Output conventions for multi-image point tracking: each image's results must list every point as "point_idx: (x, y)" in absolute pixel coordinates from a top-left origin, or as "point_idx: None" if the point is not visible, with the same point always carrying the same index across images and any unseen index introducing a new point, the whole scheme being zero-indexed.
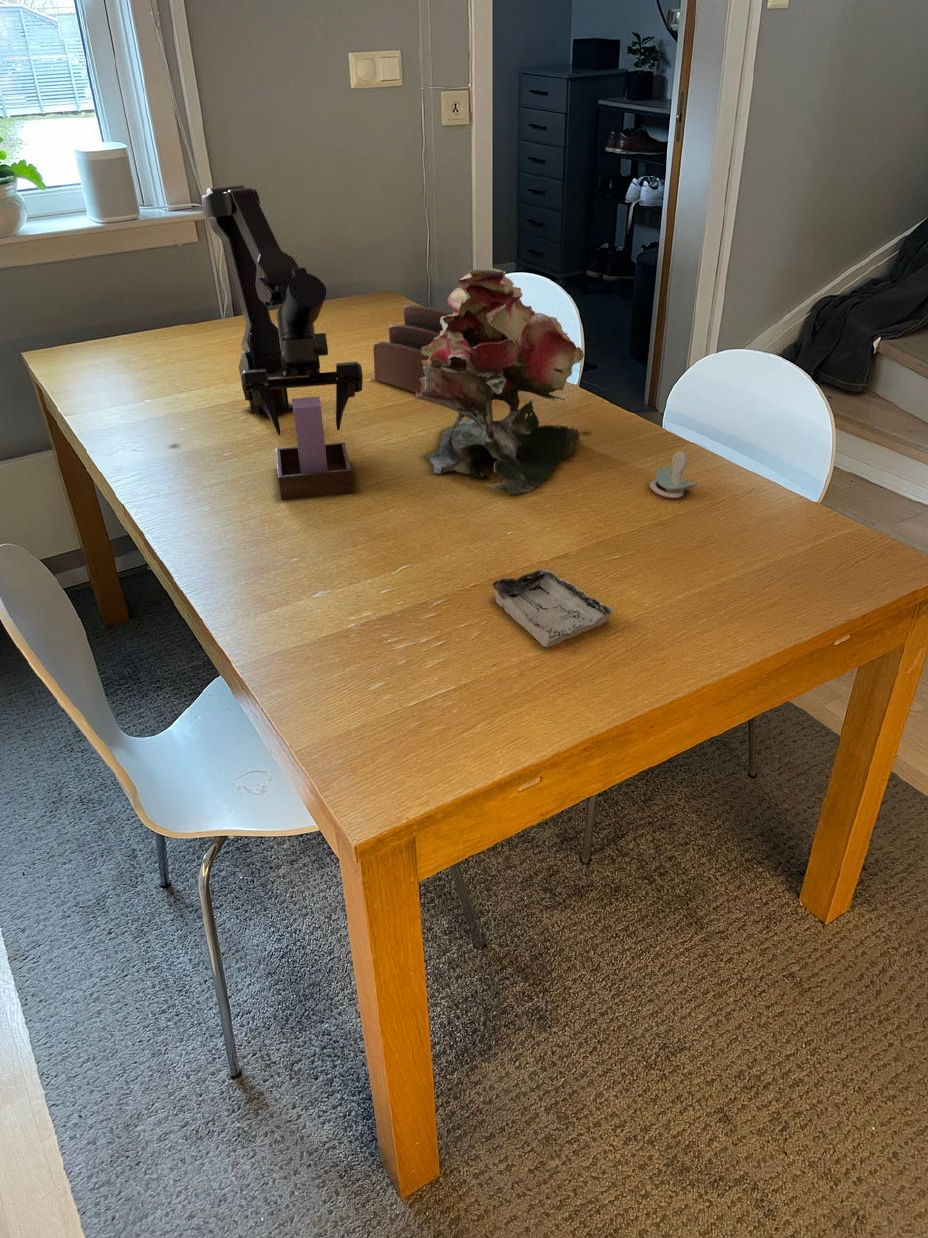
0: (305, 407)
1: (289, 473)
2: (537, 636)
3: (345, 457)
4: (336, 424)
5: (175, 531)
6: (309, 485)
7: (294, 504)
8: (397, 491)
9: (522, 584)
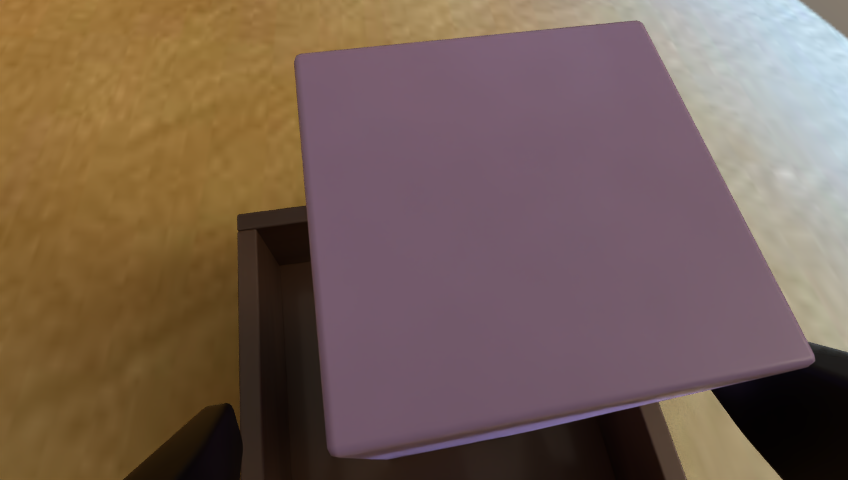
0: (492, 36)
1: (570, 438)
2: None
3: (255, 372)
4: (228, 455)
5: (799, 61)
6: None
7: None
8: (85, 259)
9: None
